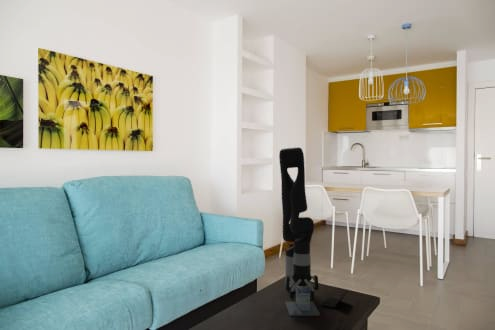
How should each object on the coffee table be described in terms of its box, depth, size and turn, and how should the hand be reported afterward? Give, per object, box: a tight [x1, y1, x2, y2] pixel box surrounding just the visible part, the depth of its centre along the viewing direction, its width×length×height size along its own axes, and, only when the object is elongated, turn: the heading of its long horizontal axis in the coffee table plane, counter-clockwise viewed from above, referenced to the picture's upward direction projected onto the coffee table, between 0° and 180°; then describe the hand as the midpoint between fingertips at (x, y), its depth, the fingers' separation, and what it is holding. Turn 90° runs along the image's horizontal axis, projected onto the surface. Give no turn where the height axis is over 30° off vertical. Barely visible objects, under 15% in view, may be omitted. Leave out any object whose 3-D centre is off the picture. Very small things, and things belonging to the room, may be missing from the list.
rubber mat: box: [284, 301, 321, 317], centre depth 160 cm, size 14×13×1 cm
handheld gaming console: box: [321, 290, 348, 310], centre depth 165 cm, size 12×7×10 cm
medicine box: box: [295, 286, 311, 311], centre depth 160 cm, size 8×4×9 cm, turn 6°
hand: (302, 299), depth 160 cm, fingers open, 8 cm apart
